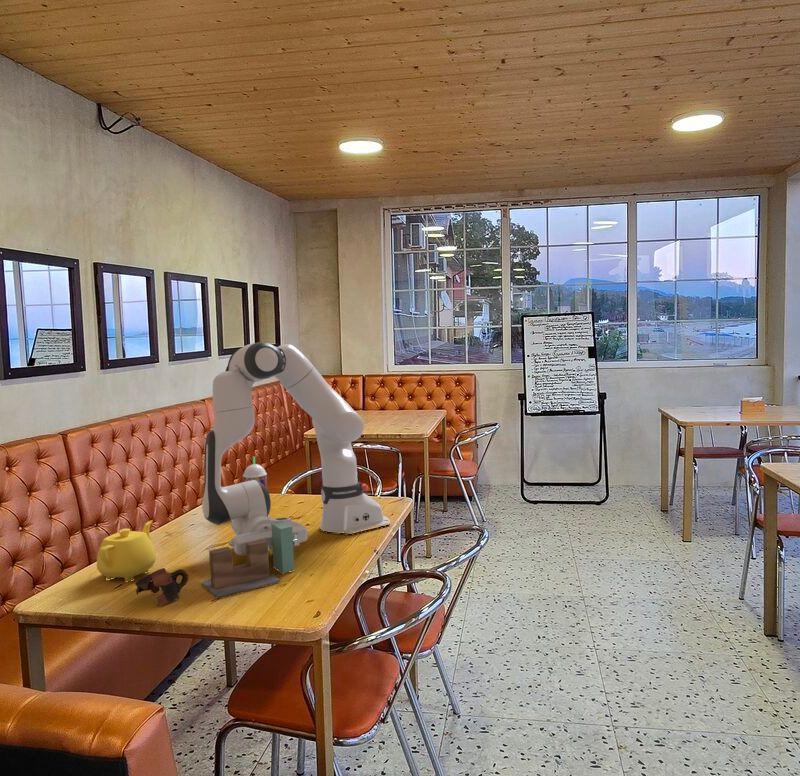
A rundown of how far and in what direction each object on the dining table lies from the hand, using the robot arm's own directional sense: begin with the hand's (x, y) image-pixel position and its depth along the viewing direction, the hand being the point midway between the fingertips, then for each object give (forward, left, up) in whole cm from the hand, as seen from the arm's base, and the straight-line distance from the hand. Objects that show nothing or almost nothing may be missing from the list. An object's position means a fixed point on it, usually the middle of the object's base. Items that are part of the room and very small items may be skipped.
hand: (281, 546), depth 170 cm
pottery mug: (+30, +3, -7) cm, 31 cm away
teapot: (+37, -19, -7) cm, 42 cm away
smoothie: (-6, -62, -7) cm, 63 cm away
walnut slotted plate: (+12, +4, -6) cm, 14 cm away
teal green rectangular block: (0, 0, -6) cm, 7 cm away
